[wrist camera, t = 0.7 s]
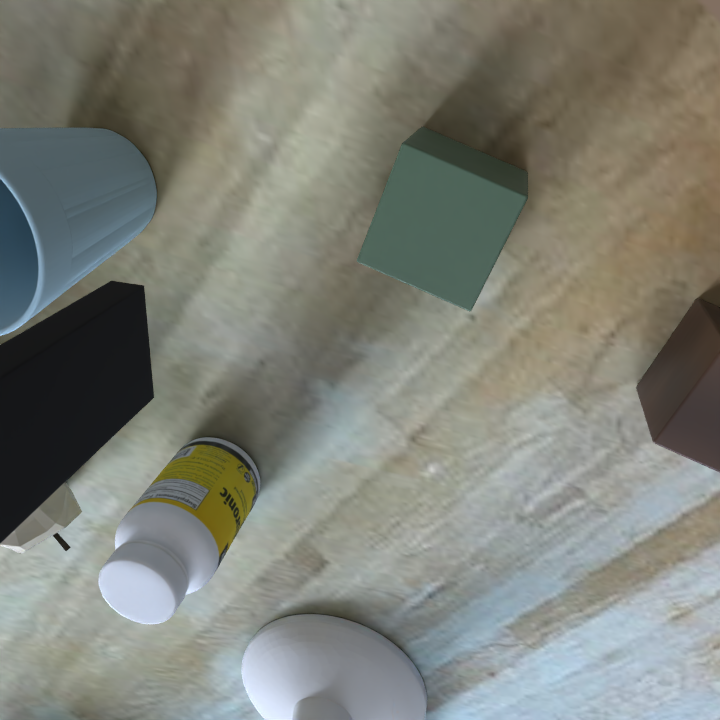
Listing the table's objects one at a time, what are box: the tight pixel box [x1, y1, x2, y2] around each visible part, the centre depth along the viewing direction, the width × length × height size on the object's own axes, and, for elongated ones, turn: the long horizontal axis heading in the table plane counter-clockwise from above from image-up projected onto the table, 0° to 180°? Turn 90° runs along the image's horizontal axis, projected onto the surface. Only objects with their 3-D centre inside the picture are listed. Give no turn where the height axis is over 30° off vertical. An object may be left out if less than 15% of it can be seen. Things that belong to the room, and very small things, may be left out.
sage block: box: [357, 127, 528, 311], centre depth 28 cm, size 5×5×5 cm
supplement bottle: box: [99, 437, 260, 624], centre depth 35 cm, size 5×5×10 cm
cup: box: [0, 128, 157, 336], centre depth 29 cm, size 8×8×10 cm
